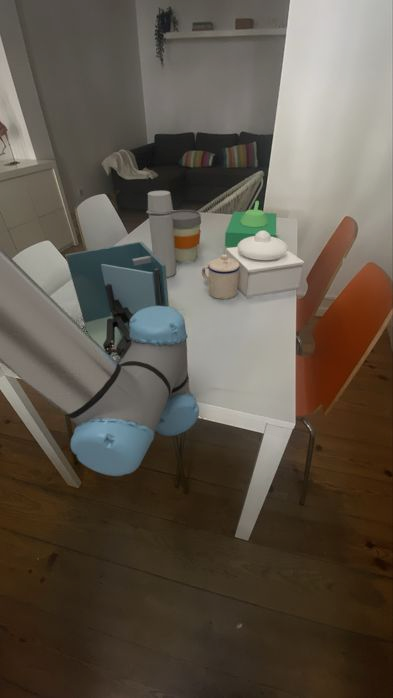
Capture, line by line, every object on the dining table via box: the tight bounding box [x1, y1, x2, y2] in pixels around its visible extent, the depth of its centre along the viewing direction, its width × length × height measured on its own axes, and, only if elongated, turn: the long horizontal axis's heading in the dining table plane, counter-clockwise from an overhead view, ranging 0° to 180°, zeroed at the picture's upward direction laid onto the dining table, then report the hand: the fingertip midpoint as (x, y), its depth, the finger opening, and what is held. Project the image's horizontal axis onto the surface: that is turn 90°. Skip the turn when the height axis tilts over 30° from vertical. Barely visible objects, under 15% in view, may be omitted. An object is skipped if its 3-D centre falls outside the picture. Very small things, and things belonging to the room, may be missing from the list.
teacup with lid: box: [201, 253, 240, 300], centre depth 93 cm, size 12×9×12 cm
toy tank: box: [224, 200, 277, 249], centre depth 127 cm, size 18×12×35 cm
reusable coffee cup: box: [171, 209, 202, 262], centre depth 114 cm, size 13×13×15 cm
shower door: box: [101, 264, 157, 328], centre depth 73 cm, size 13×2×16 cm, turn 67°
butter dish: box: [224, 231, 305, 298], centre depth 96 cm, size 18×18×16 cm
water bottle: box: [145, 190, 177, 279], centre depth 100 cm, size 9×8×25 cm
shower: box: [64, 241, 170, 357], centre depth 75 cm, size 18×16×19 cm
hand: (116, 305), depth 75 cm, fingers closed
